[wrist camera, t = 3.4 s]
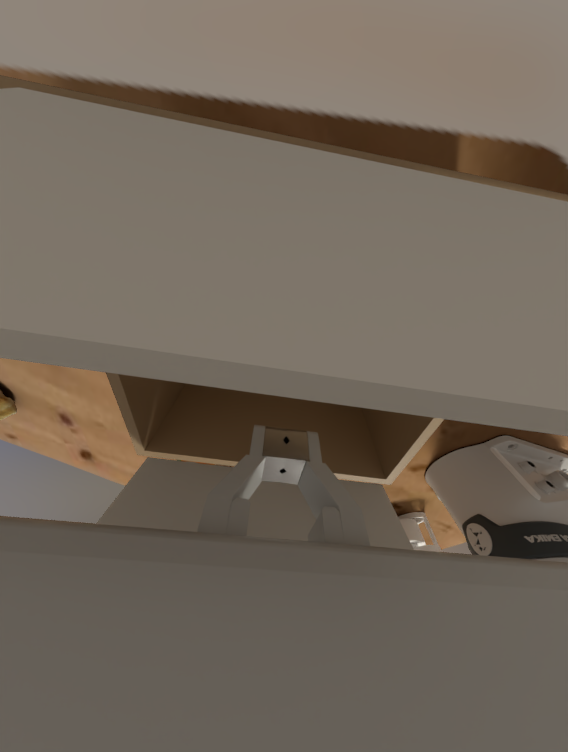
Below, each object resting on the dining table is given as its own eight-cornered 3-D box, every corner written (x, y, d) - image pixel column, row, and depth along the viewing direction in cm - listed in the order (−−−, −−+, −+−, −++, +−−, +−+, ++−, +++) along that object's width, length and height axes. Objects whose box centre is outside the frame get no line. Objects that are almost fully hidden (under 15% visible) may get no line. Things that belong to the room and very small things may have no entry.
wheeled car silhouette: (409, 505, 49) (425, 545, 43) (440, 519, 52) (458, 558, 46) (343, 533, 59) (349, 570, 53) (373, 544, 62) (382, 579, 56)
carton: (452, 208, 19) (619, 205, 9) (360, 401, 32) (390, 484, 22) (159, 149, 18) (-8, 73, 8) (187, 377, 30) (137, 454, 21)
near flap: (585, 223, 9) (601, 208, 9) (1073, 506, 3) (1188, 501, 3) (30, 110, 8) (19, 87, 7) (-818, 244, 2) (-1089, 170, 2)
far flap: (147, 457, 20) (148, 461, 20) (28, 610, 11) (31, 616, 11) (381, 484, 21) (380, 488, 21) (459, 642, 12) (455, 647, 12)
